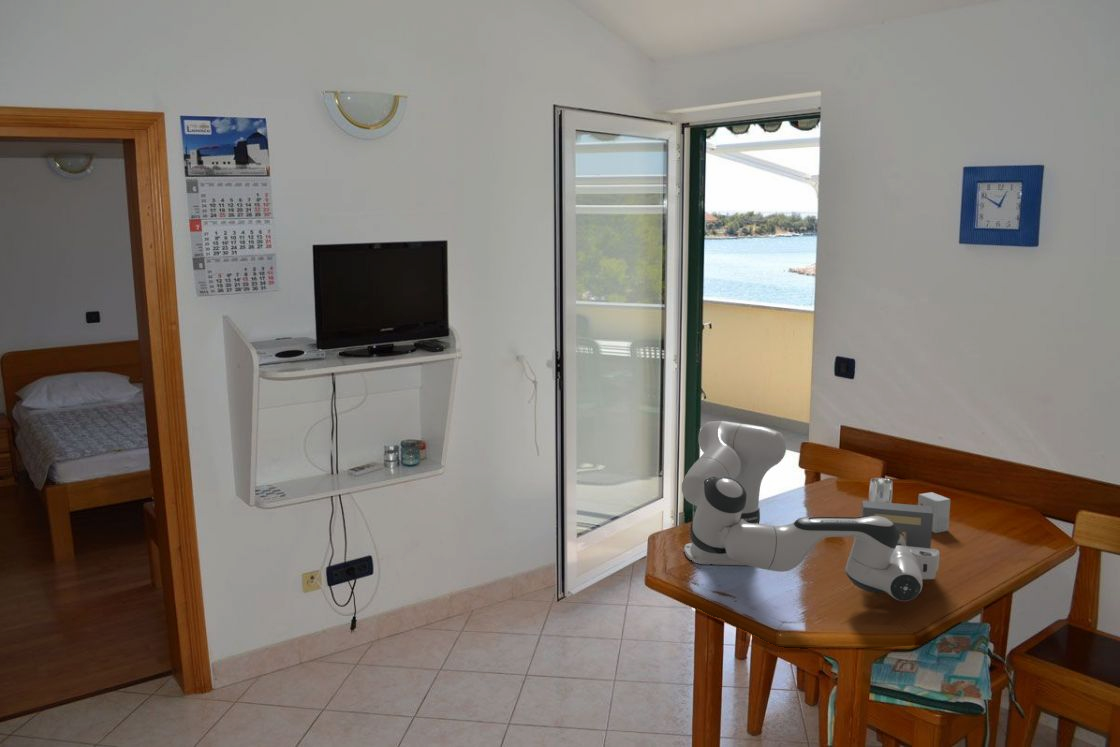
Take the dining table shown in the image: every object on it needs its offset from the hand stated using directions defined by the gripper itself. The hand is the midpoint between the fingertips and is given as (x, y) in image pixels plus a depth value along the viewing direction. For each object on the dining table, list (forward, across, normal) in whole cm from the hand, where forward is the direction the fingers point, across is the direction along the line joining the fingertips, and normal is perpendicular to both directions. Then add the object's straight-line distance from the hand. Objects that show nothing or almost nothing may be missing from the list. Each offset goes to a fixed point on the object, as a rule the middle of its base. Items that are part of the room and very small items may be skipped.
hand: (896, 544), depth 244 cm
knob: (+5, 0, -2) cm, 6 cm away
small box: (+42, +14, -9) cm, 46 cm away
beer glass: (+40, -2, -9) cm, 41 cm away
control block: (+5, 0, -9) cm, 10 cm away
